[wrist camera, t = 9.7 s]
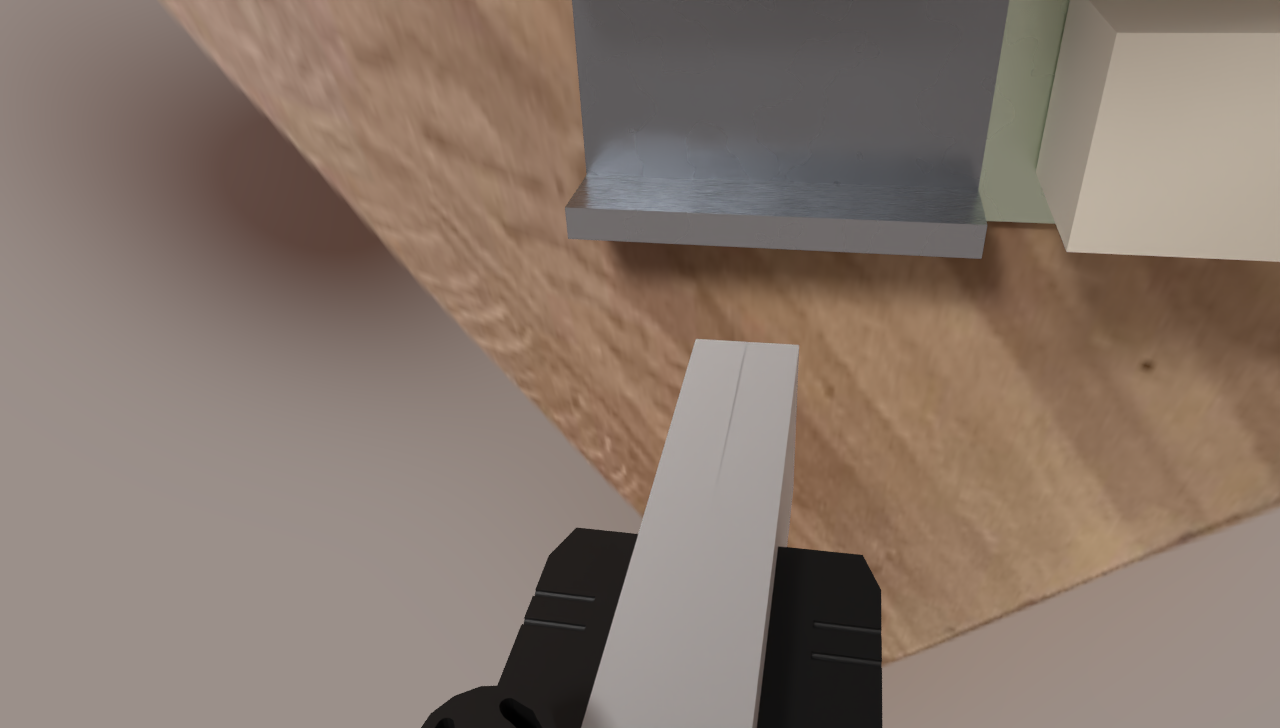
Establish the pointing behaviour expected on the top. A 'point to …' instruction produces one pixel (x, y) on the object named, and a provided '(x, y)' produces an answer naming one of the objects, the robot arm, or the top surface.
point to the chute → (813, 122)
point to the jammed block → (1166, 129)
